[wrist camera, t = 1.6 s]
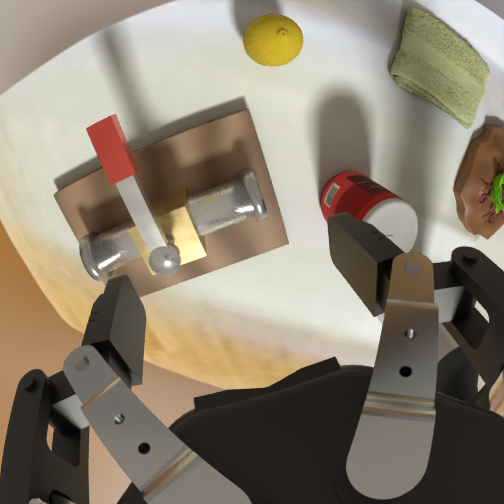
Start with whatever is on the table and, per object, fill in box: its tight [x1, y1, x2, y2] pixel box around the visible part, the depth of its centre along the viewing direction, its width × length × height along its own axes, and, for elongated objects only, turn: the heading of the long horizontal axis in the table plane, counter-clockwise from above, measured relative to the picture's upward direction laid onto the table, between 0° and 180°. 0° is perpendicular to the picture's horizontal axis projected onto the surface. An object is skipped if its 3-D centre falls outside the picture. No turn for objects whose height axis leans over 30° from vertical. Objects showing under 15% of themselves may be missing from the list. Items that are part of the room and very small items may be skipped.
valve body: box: [79, 168, 268, 281], centre depth 31 cm, size 20×6×9 cm, turn 107°
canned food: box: [321, 172, 418, 253], centre depth 34 cm, size 8×8×11 cm
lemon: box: [243, 14, 303, 67], centre depth 24 cm, size 6×6×8 cm
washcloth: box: [390, 6, 490, 129], centre depth 30 cm, size 13×18×3 cm
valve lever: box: [86, 114, 181, 276], centre depth 23 cm, size 14×3×2 cm, turn 17°
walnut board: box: [54, 109, 289, 297], centre depth 35 cm, size 24×17×2 cm
